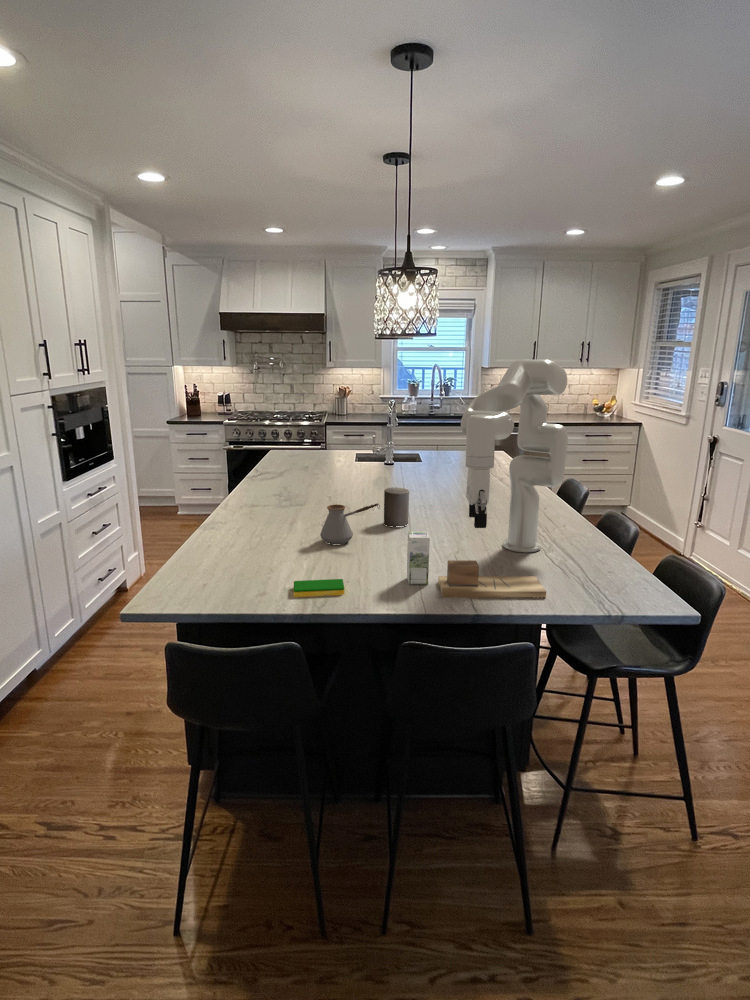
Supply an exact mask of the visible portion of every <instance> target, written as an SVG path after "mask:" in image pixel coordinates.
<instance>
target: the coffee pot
mask: <svg viewBox="0 0 750 1000" xmlns="http://www.w3.org/2000/svg"><path fill="white" fill-rule="evenodd" d="M375 507H377V509H378V510H380V508H381V505H380V504H379V503H374V504H371V505H368V506H364V507H362V508H359V509H356V510H354V511H351V512H348V513H345V509H346V506H345V505H344V504H343V505H342V504H330V505H327V506H326V509H327V510H328V515H327V517H326V519H325V520H324V524H323V526H322V528H321V531H320V534H319V536H320V539H321V540H323V541H324V542H325V543H326V542H327V543H330V544H344V543H346V542H347V543H349V541H350V540H351V539H352V538H353V536H354V532H353V530H352V528H351V525H350V524H349V521H348V519H347V517H349V516H352V515H354V514H359V513H362V512H364V511H368V510H369V509H373V508H375ZM327 543H326V544H327ZM347 543H346V544H347ZM344 545H345V544H344Z"/></svg>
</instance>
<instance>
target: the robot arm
mask: <svg viewBox="0 0 750 1000" xmlns="http://www.w3.org/2000/svg"><path fill="white" fill-rule="evenodd" d="M567 386H568V374H567V372H566V370H565V368H564V367H562V366H561V365H559V364H558V363H556V362H555V361H553V360H550V359H518V360H515V361H513V362H511V364H510V365H509V366H508V368H507V370H506V372H505V373H504V374H503V376H502V377H501V380H500V382H499V383H498V385H497V386H495V387H493V388H491V389H489V390H486V391H485V392H482V393H481V394H479V395H478V396H476V397H475V398H473V399H472V400H471V401H470V402H469V404H468V406H467V408H466V409H465V411H464V412H463V415H462V416H461V421H460V429H461V432H462V434H464V436H465V437H466V439H465V443H466V444H465V468H467V476H466V477H467V478H466V490H465V497H466V500H467V501H468V505H469V506H468V517H469V518H474V520H473V522H474V526H473V527H474V529H486V528H487V524H488V523H487V522H488V512H487V511H488V510H487V508H488V507H487V505H488V504H489V502H490V486H491V485H490V484H491V483H490V482H491V481H490V479H491V478H490V477H491V475H490V472H491V469H494V467H495V447H496V446H495V445H496V440H497V441H499V440H501V441H502V440H506V439H507V438H509V437H510V436H511V435H512V433H513V431H514V428H515V421H514V419H513V416H512V415H511V414H510V413H508V412H505V411H509V410H512V409H515V408H517V407H519V409H520V410H519V420H518V429H517V447H518V449H520V450H522V451H526V452H530V453H531V452H533V453H543V454H549V456H548V457H546V456H539V455H527V454H526V455H523V454H522V455H517V456H515V457H513V458H512V459H511V461H510V462H509V467H508V468H509V469H508V471H509V480H510V497H509V498H510V501H509V512H508V513H509V514H508V515H509V517H508V528H507V529H508V531H507V533H508V534H507V539H504V541H503V542H502V547H503V548H504V549H507V550H509V551H512V552H516V553H535V552H538V551H541V548H542V544H541V542H538V541H537V540H538V524H539V512H540V511H539V510H540V500H541V499H540V494H539V493H538V490H537V488H536V487H535V486H538V487H546V488H558V487H559V486H561V485H562V483H563V481H564V480H563V479H564V477H565V469H566V462H567V461H566V460H567V452H568V445H569V444H568V443H569V436H568V435H569V434H568V430H567V428H566V427H565V426H564V425H562V424H557V423H547V415H548V414H547V413H548V406H547V404H546V402H545V400H544V399H543V396H560V395H562V394H563V393H564V392H565V391H566V389H567Z"/></svg>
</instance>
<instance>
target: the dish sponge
mask: <svg viewBox="0 0 750 1000" xmlns="http://www.w3.org/2000/svg"><path fill="white" fill-rule="evenodd" d="M342 594H344V595H345V585H344V579H343V578H332V579H312V580H311V579H310V580H308V579H307V580H294V581H293V597H294V598H306V597H308V598H309V596H310V597H325V596H324V595H331V596H343V595H342Z"/></svg>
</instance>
